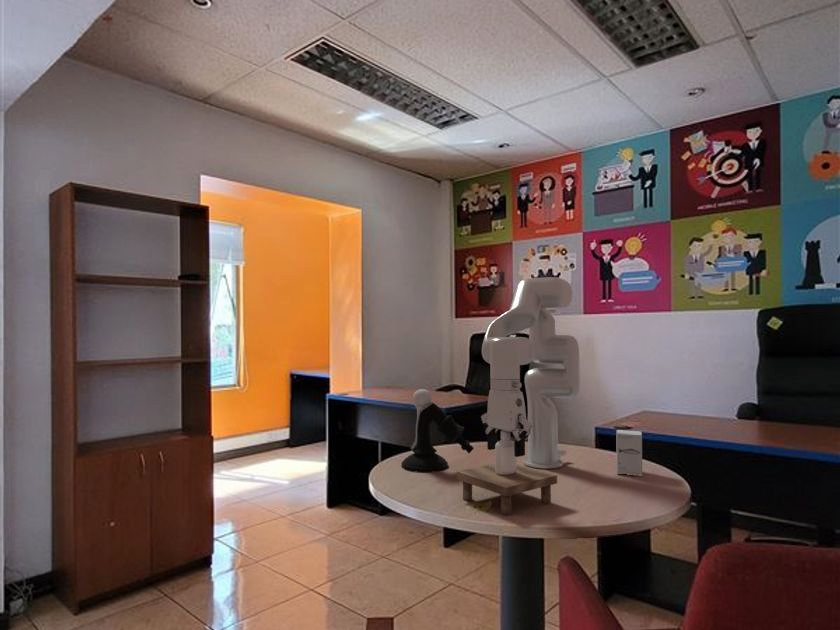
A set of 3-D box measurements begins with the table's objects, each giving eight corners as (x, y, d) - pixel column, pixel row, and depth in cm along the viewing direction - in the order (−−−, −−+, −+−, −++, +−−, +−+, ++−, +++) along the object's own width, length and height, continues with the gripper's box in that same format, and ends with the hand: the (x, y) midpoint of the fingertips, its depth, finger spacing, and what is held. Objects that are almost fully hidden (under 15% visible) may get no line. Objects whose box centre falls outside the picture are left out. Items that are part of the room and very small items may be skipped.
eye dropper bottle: (518, 475, 130) (517, 427, 131) (496, 475, 130) (495, 427, 131) (515, 470, 135) (514, 424, 135) (493, 470, 135) (493, 424, 135)
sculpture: (408, 459, 177) (408, 386, 178) (477, 463, 172) (476, 387, 173) (395, 470, 162) (395, 390, 163) (470, 475, 157) (469, 392, 158)
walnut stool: (506, 486, 145) (505, 461, 145) (557, 503, 130) (557, 475, 130) (456, 498, 134) (456, 471, 134) (506, 518, 120) (506, 487, 120)
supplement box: (616, 475, 157) (615, 433, 157) (617, 469, 164) (616, 429, 164) (643, 477, 154) (642, 434, 154) (642, 471, 161) (641, 430, 161)
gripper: (540, 387, 128) (541, 456, 128) (492, 382, 143) (493, 445, 142) (519, 389, 124) (520, 461, 123) (472, 384, 138) (472, 448, 137)
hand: (505, 452), depth 133 cm, fingers open, 9 cm apart
